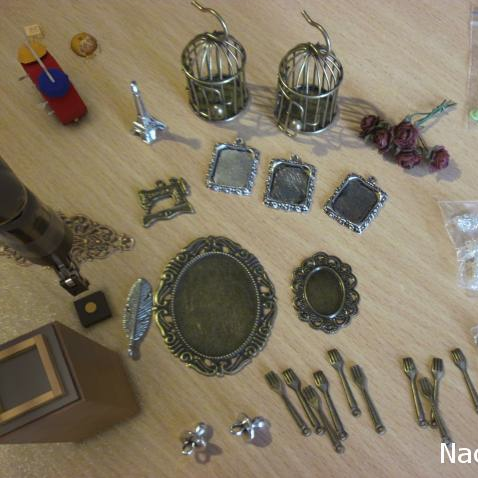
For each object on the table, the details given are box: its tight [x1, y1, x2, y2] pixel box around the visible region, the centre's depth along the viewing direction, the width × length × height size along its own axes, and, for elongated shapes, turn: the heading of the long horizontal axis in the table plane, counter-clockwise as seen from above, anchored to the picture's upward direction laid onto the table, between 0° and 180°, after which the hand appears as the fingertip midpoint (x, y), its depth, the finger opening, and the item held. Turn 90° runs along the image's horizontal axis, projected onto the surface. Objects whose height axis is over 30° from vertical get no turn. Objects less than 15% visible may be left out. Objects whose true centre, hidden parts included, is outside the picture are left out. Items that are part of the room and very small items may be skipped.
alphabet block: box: [23, 23, 45, 42], centre depth 129 cm, size 3×3×3 cm
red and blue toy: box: [17, 39, 89, 126], centre depth 115 cm, size 15×9×20 cm, turn 38°
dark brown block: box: [73, 289, 113, 329], centre depth 109 cm, size 5×5×4 cm
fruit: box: [70, 32, 103, 66], centre depth 129 cm, size 8×8×4 cm
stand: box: [0, 319, 141, 446], centre depth 88 cm, size 12×12×36 cm
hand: (73, 265), depth 94 cm, fingers open, 8 cm apart
